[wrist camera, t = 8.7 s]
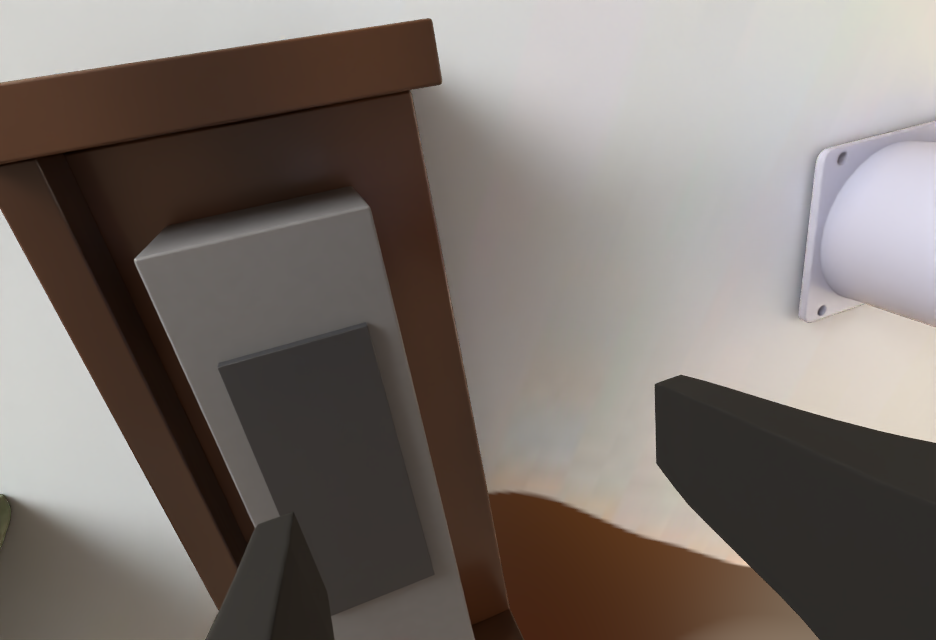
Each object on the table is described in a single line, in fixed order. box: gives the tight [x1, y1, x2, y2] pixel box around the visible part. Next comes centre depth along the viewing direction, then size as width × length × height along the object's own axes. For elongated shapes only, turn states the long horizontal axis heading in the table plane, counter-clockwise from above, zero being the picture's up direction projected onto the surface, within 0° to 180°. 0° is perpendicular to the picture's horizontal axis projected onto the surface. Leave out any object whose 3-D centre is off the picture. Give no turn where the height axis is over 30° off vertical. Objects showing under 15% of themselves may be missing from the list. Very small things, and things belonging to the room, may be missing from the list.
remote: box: [134, 186, 475, 640], centre depth 15 cm, size 5×16×3 cm, turn 10°
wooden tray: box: [0, 18, 524, 640], centre depth 16 cm, size 9×22×6 cm, turn 10°
